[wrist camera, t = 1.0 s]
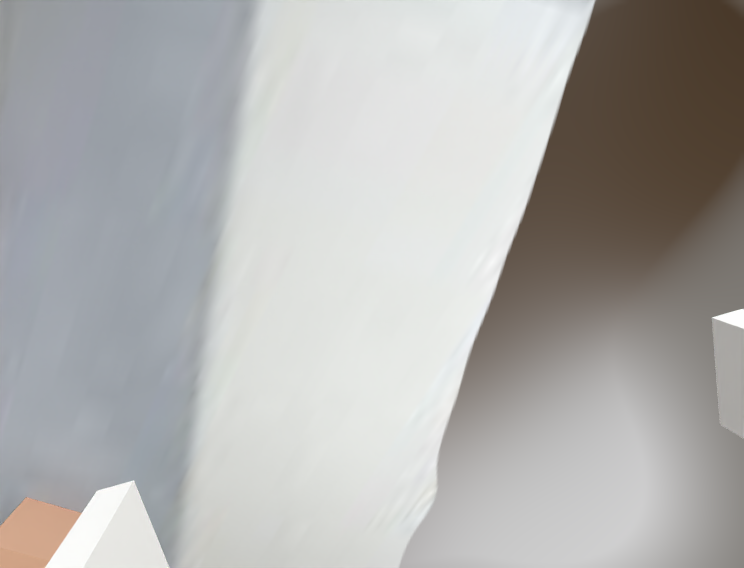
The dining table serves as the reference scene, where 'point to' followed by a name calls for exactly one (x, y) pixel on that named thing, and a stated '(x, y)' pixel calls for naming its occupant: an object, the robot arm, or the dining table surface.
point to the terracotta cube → (34, 534)
